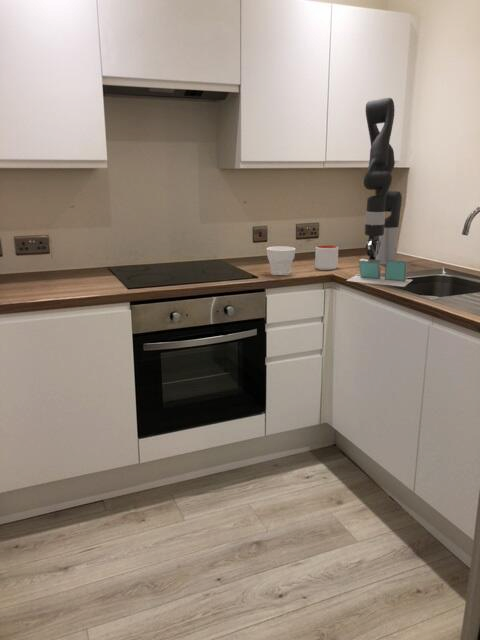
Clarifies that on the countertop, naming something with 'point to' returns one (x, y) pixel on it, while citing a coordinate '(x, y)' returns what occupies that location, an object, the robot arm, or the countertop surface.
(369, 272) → the tile
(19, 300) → the countertop surface
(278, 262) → the cup
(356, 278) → the mat
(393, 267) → the tile
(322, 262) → the cup
